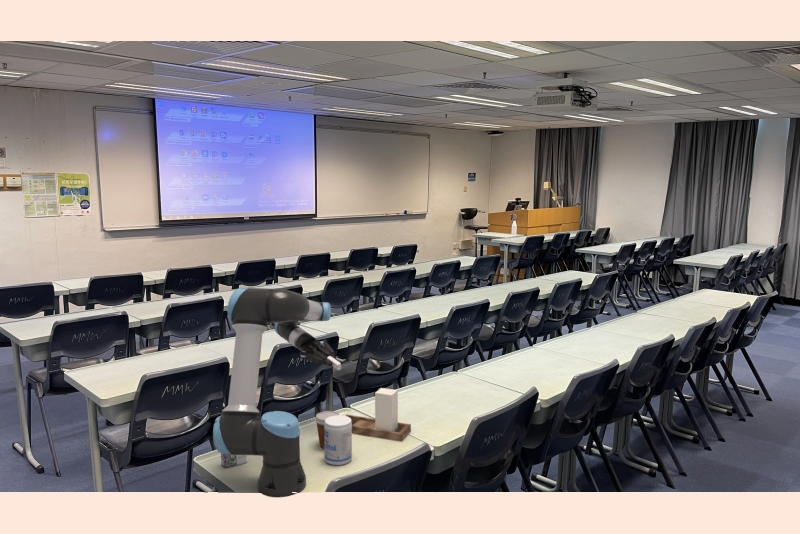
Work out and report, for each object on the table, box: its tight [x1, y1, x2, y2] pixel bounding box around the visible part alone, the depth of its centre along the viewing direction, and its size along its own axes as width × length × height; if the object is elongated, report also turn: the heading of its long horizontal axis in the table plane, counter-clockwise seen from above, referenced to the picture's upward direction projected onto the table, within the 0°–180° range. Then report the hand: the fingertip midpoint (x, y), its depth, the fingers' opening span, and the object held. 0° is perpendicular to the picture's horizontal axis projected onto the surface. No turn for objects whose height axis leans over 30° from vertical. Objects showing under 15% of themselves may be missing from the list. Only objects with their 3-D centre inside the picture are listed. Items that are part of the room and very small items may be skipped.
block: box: [374, 387, 399, 432], centre depth 225 cm, size 7×6×15 cm
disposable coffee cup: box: [314, 410, 341, 450], centre depth 214 cm, size 10×10×12 cm
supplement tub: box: [323, 414, 353, 466], centre depth 203 cm, size 10×10×15 cm
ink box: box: [220, 453, 248, 469], centre depth 200 cm, size 4×8×15 cm, turn 124°
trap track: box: [344, 414, 412, 442], centre depth 228 cm, size 28×10×3 cm, turn 69°
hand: (339, 366), depth 220 cm, fingers closed
